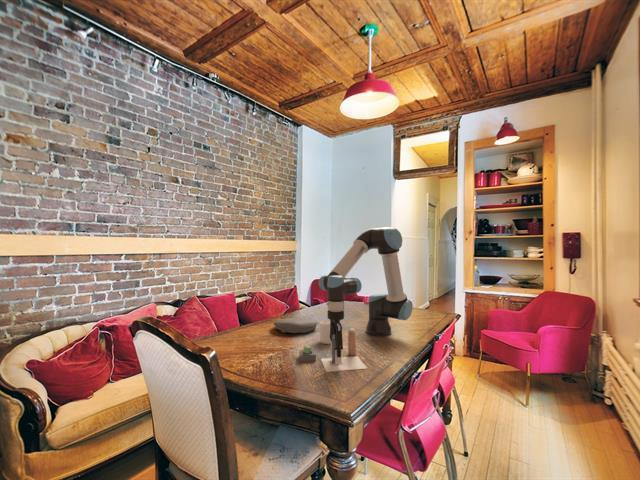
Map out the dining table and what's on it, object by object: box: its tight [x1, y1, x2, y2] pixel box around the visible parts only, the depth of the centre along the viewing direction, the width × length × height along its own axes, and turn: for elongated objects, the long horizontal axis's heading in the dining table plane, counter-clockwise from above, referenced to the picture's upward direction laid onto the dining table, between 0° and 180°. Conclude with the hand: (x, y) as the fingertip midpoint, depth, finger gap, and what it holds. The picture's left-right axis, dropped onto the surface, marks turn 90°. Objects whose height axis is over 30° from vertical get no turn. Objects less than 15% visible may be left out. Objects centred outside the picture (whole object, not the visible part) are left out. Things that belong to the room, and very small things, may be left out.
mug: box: [319, 320, 331, 345], centre depth 166 cm, size 9×12×11 cm
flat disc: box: [273, 316, 319, 335], centre depth 192 cm, size 28×28×4 cm
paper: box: [320, 355, 368, 373], centre depth 136 cm, size 18×14×1 cm
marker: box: [331, 334, 340, 364], centre depth 137 cm, size 4×4×12 cm
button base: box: [298, 348, 317, 363], centre depth 143 cm, size 7×7×3 cm
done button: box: [302, 345, 313, 354], centre depth 143 cm, size 4×4×4 cm
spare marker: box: [347, 328, 357, 357], centre depth 147 cm, size 4×4×12 cm
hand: (335, 359), depth 137 cm, fingers open, 9 cm apart
